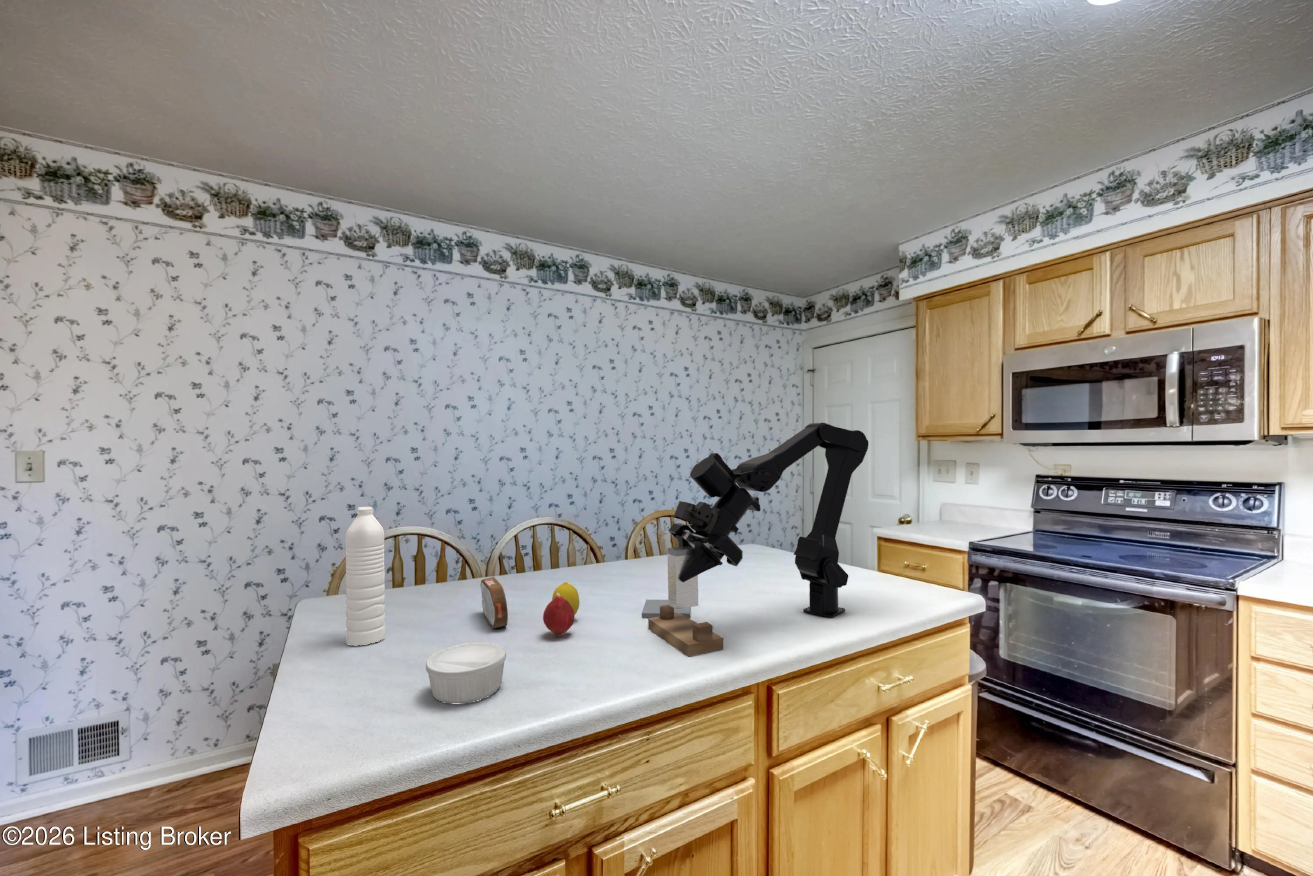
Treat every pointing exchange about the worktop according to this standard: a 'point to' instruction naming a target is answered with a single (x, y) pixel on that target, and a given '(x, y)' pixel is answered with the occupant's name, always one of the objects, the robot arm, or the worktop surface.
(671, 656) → the worktop surface
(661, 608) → the body
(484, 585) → the tin
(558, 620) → the onion
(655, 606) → the mat
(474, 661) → the ramekin
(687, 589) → the lever cap
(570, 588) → the lemon
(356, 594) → the water bottle
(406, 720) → the worktop surface
